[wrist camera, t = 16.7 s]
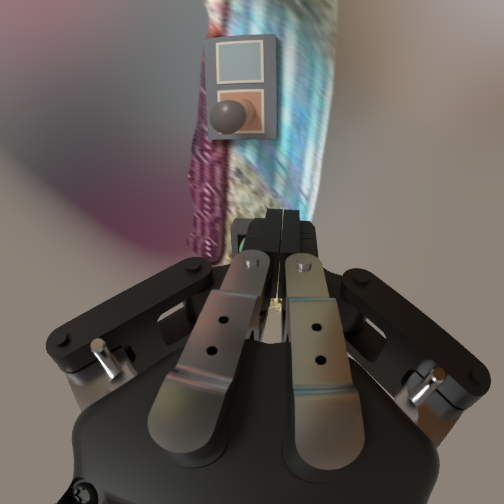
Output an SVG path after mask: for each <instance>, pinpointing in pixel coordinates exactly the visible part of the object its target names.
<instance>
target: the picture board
mask: <svg viewBox="0 0 504 504" xmlns="http://www.w3.org/2000/svg"><path fill="white" fill-rule="evenodd" d="M204 48H205V81H206V104H207V123H208V140H218V139H275V140H276V139H277V58H276V35H275V34H271V35H241V36H227V37H217V38H208V39H204ZM239 98H243V99H247V100H249V101H250V102H251V103H252V104H253V105H254V107H255V116H254V118H253V119H252V121H251V122H249V123H248V124H246V125H245V126H244V127H242V128H241V129H240V130H238V131H237V132H235V133H232V134H222V133H219V132H217V131H216V130H215V129H214V128H213V127H212V125H211V123H210V119H209V115H210V111H211V109H212V108H213V106H214V105H215V104H217V103H218V102H220V101H224V100H231V99H239Z"/></svg>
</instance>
